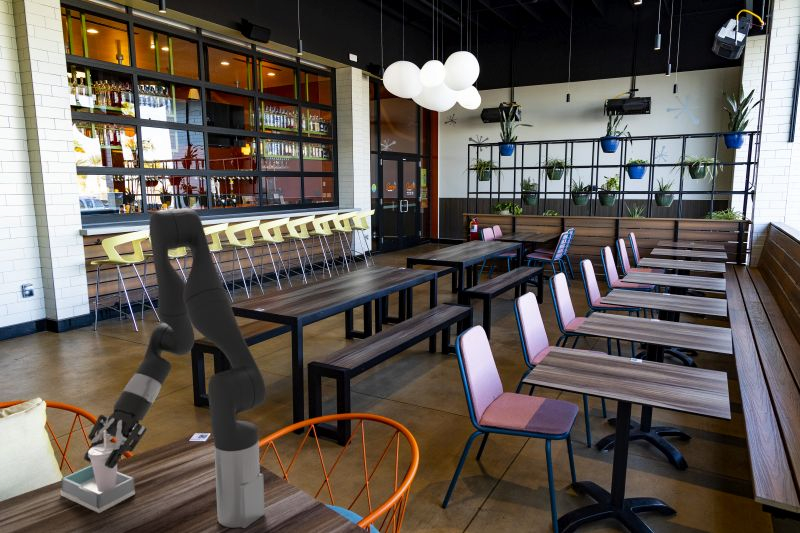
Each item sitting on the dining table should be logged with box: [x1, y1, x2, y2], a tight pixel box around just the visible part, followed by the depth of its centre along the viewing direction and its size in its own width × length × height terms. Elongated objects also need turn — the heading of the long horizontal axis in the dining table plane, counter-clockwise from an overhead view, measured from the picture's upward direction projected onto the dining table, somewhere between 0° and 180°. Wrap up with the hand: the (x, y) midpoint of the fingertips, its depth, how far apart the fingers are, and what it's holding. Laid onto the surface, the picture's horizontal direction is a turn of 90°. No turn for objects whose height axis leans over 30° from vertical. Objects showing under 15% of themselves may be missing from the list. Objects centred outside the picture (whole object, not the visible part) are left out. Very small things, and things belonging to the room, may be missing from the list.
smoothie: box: [87, 430, 118, 492], centre depth 124 cm, size 6×6×14 cm
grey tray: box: [60, 464, 136, 514], centre depth 126 cm, size 15×9×4 cm, turn 61°
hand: (98, 463), depth 122 cm, fingers closed on smoothie, 6 cm apart
